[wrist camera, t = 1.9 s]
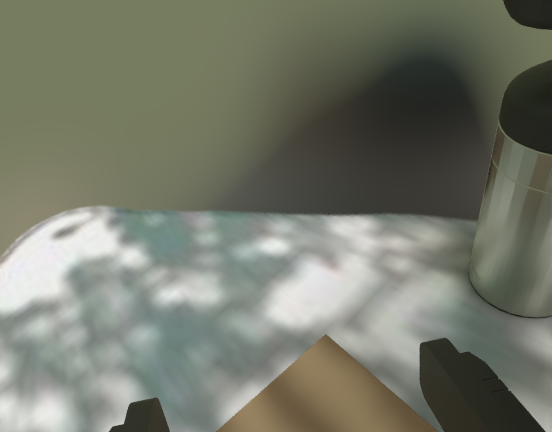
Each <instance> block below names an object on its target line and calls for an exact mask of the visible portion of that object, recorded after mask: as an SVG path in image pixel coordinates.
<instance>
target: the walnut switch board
mask: <svg viewBox="0 0 552 432" xmlns="http://www.w3.org/2000/svg"><path fill="white" fill-rule="evenodd" d="M216 432H438V431H437V430H436V429H434V428H433V427H432V426H431V425H430V424H429V423H427V422H426V421H425V420H424V419H423V418H422V417H421V416H419V415H418V414H417V413H416V412H415V411H414V410H412V409H411V408H410V407H409V406H408V405H407V404H406V403H404V402H403V401H402V400H401V399H400V398H399V397H398V396H396V395H395V394H394V393H393V392H392V391H391V390H389V389H388V388H387V387H386V386H385V385H384V384H383V383H381V382H380V381H379V380H378V379H377V378H376V377H375V376H373V375H372V374H371V373H370V372H369V371H368V370H366V369H365V368H364V367H363V366H362V365H361V364H360V363H358V362H357V361H356V360H355V359H354V358H353V357H352V356H350V355H349V354H348V353H347V352H346V351H345V350H343V349H342V348H341V347H340V346H339V345H338V344H337V343H335V342H334V341H333V340H332V339H331V338H330V337H329V336H327V335H326V334H325V335H324V336H323V337H322V338H321V339H320V340H319V341H317V342H316V343H315V344H314V345H313V346H312V347H311V348H310V349H308V350H307V351H306V352H305V353H304V354H303V355H302V356H301V357H299V358H298V359H297V360H296V361H295V362H294V363H293V364H292V365H291V366H289V367H288V368H287V369H286V370H285V371H284V372H283V373H282V374H280V375H279V376H278V377H277V378H276V379H275V380H274V381H273V382H271V383H270V384H269V385H268V386H267V387H266V388H265V389H264V390H262V391H261V392H260V393H259V394H258V395H257V396H256V397H255V398H253V399H252V400H251V401H250V402H249V403H248V404H247V405H246V406H244V407H243V408H242V409H241V410H240V411H239V412H238V413H237V414H235V415H234V416H233V417H232V418H231V419H230V420H229V421H228V422H226V423H225V424H224V425H223V426H222V427H221V428H220V429H219V430H217V431H216Z"/></svg>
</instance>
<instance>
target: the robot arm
mask: <svg viewBox="0 0 552 432" xmlns="http://www.w3.org/2000/svg"><path fill="white" fill-rule="evenodd" d="M503 1H504V4H505V7H506V9H507V11H508V13H509V15H510V16H511V17H512V18H513V19H514V20H515V21H516V22H518V23H519V24H521V25H524V26H528V27H532V28H537V29H549V30H552V0H503ZM469 277H470V281H471V283H472V285H473V287H474V288H475V290H476V291H477V292H478V293H479V294H480V295H481V296H482V297H483V298H484V299H485V300H487V301H488V302H489V303H491V304H492V305H494V306H496V307H498V308H499V309H502V310H504V311H507V312H509V313H512V314H516V315H520V316H526V317H548V316H551V315H552V60H550V61H547V62H544V63H541V64H538V65H536V66H534V67H531V68H529V69H528V70H526V71H524V72H522V73H521V74H519V75H518V76H516V77H515V78H514V79H513V80H512V81H511V83H510V84H509V85H508V87H507V89H506V91H505V93H504V97H503V100H502V105H501V110H500V115H499V121H498V127H497V131H496V136H495V141H494V146H493V151H492V157H491V161H490V166H489V171H488V176H487V181H486V186H485V190H484V196H483V200H482V205H481V210H480V215H479V220H478V224H477V229H476V234H475V239H474V244H473V249H472V252H471V257H470V264H469ZM420 385H421V389H422V392H423V395H424V398H425V400H426V402H427V403H428V405H429V407H430V408H431V410H432V412H433V413H434V415H435V417H436V418H437V420H438V422H439V423H440V425H441V427H442V428H443V430H444V432H545V430H544V429H543V428H542V427H541V426H540V425H539V424H538V422H537V421H536V420H535V419H534V418H533V417H532V416H531V414H530V413H529V412H528V411H527V410H526V409H525V407H524V406H523V405H522V404H521V403H520V402H519V401H518V399H517V398H516V397H515V396H514V395H513V394H512V392H511V391H508V388H507V387H506V386H505V384H504V383H503V382H502V381H501V380H500V379H498V376H497V375H496V374H495V373H494V372H493V371H492V369H491V368H490V367H489V366H488V365H487V364H486V363H485V362H484V361H482V360H481V359H479V358H478V357H476V356H474V355H473V354H471V353H470V352H464V353H459V352H458V351H457V349H456V348H455V347H454V346H453V345H452V343H451V342H450V341H449V340H448V339H447V338H442V339H437V340H432V341H427V342H423V343H421V344H420ZM109 432H170V430H169V427H168V425H167V422H166V419H165V416H164V413H163V410H162V407H161V404H160V401H159V399H158V398H152V399H147V400H142V401H137V402H133V403H130V405H129V407H128V410H127V414H126V418H125V422H124V424H122V425H118V426H113V427H112V428H111V430H110V431H109Z"/></svg>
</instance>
